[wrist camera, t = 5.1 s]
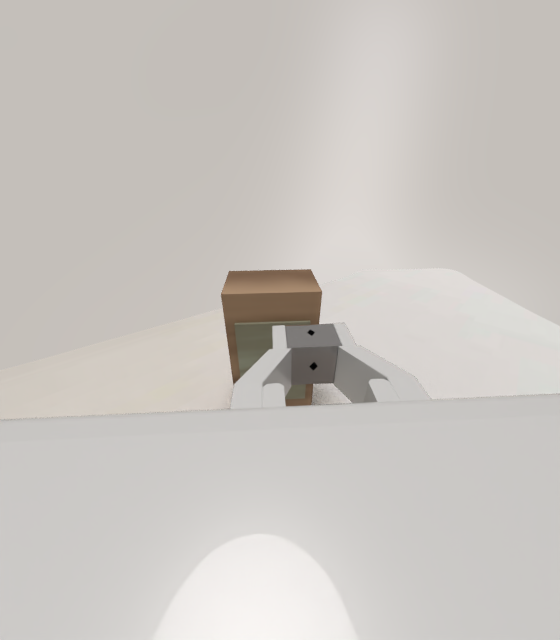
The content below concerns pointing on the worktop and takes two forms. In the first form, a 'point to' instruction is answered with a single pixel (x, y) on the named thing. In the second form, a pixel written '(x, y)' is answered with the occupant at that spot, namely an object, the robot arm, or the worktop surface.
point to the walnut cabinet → (267, 316)
